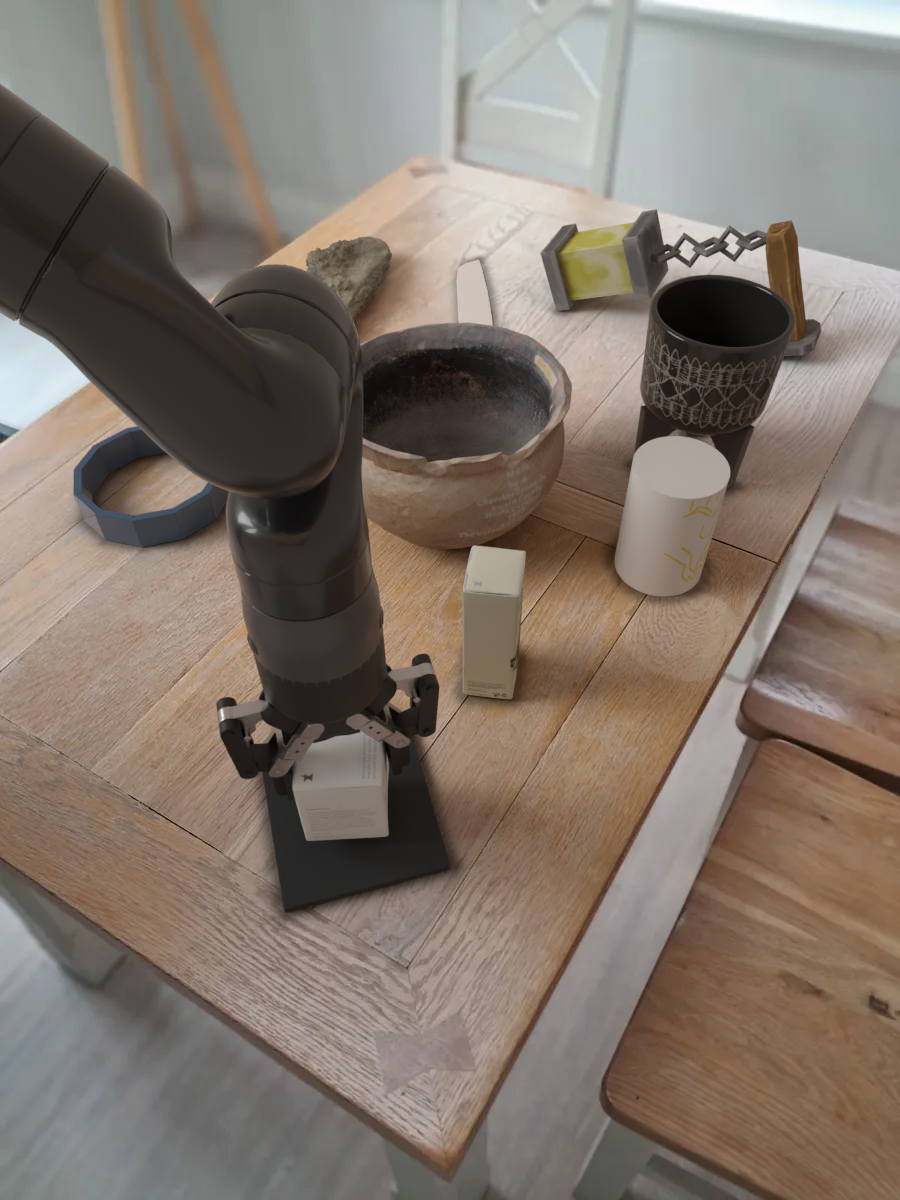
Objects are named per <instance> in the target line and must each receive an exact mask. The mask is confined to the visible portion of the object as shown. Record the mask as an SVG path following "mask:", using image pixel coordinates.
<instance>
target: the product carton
mask: <svg viewBox="0 0 900 1200" xmlns="http://www.w3.org/2000/svg"><path fill="white" fill-rule="evenodd" d="M388 775H389V762H388V757H387V753H386V745H385V741H384V740H382V741H381V742H377V741H376V740H374V739H373V738H371V737H369V736H368V735H366V734H365V733H363V732H362V731H360V733H355V734H351V735H343V736H335V737H333V738H330V739H328V740H325V741H321V742H317V743H312V744H311V746H310V747H309V749H308V750H307V752H306V753H305V755H304V756H303V758H302V759H301V761H294V768H293V785H292V789H293V793H294V797H295V801H296V804H297V808H298V812H299V816H300V819H301V823H302V826H303V830H304V834H305V837H306V840H307V841H319V840H336V839H355V838H374V837H386V836H388V835H389V830H388Z"/></svg>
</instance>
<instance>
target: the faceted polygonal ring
mask: <svg viewBox="0 0 900 1200" xmlns="http://www.w3.org/2000/svg"><path fill="white" fill-rule="evenodd" d="M165 454H167V453H166V452H165V451H164V450H162V449H161V448H160V447H159V446H158V445H157V444H156V443H155V442H154V441H153V440H152V439H151V438H150V437H148V436H147V435H146V434H145V433H144V432H143V431H142V430H141V429H140V428H139V427H138V426H137V425H136V426H131V427H127V428H124V429H122V430H120V431H118V432H117V433H114V434H112V435H111V436H109V437H108V436H107V438H105V439H103V440H101V441H99V442H96V443H95V444H93V445H92V446H91V447H90V449H88V451H87V452H86V454H85V455H84V456H83V457H82V458H81V459H80V461H79V462H78V463H77V464H76V466H75V467H74V468H73V497H74V499H75V502H76V503H77V506H78V509H79V511H80V513H81V516H82V518H83V520H84V522H85V523H86V524H88V526H90V528H92V529H93V530H94V531H95V532H96V533H97V534H98V535H100V537H101V538H103V540H105V541H108V542H113V543H119V544H124V545H129V546H134V547H139V548H145V547H150V546H151V547H152V546H156V545H161V544H165V543H171V542H177V541H182V540H184V539H186V538H188V537H189V536H191V535H193V534H194V533H196V532H197V531H199V530H201V529H203V528H204V527H205V526H207V525H209V524H210V523H212V522H214V521H216V520H217V519H218V518H219V515H220V514H221V512H222V510H223V509H224V507H226V503H227V498H228V493H229V491H227V490H224V489H222V488H219V487H217V486H215V485H213V484H211V483H209V482H206V484H205V486H204V487H203V489H202V490H201V491H200V492H198V493H196V494H195V495H193V496H190V497H189V498H187V499H186V500H184V501H182V502H181V503H179V504H177V505H175V506H174V507H171V508H166V509H160V510H156V511H155V510H154V511H149V512H145V513H138V514H129V513H124V512H119V511H113V510H108V509H103V508H100V507H99V506H98V505H97V504H96V503H95V502H94V501H93V495H94V494H95V492H96V491H97V490H98V489H99V487H100V486H101V485H102V484H103V482H104V481H105V480H106V479H107V477H108V476H109V474H111V473H113V472H115V471H116V470H118V469H120V468H122V467H124V466H126V465H127V464H129V463H131V462H133V461H135V460H137V459H140V458H146V457H152V456H158V455H165Z"/></svg>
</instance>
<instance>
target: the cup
mask: <svg viewBox="0 0 900 1200" xmlns="http://www.w3.org/2000/svg"><path fill="white" fill-rule="evenodd" d="M634 452H635V451H634ZM729 478H730V467H729V464H728V462H727V460H726V458H725V457H724V456H723V455H722V454H721V453H720V452H719V451H718V450H717V449H716V448H715V446H712V445H711V444H710V443H707V442H704V441H702V440H699V439H696V438H692V437H689V436H681V435H669V436H666V437H660V438H656V439H653V440H650V441H648V442H646V443H645V444H643V445H642V446H640V447H639V448H638V450H637V451H636V452H635V454H634V453H633V457H632V461H631V466H630V472H629V479H628V484H627V489H626V495H625V500H624V505H623V511H622V515H621V523H620V527H619V532H618V536H617V537H618V538H617V543H616V548H615V553H614V554H615V555H614V558H613V559H614V562H613V563H614V568H615V570H616V573H617V574H618V577H620V579H621V580H622V581H623V582H624V583H625V584H626V585H627V586H629V587H630V588H632V589H634V590H636V591H638V592H640V593H642V594H645V595H648V596H653V597H662V598H663V597H664V598H665V597H674V596H675V597H676V596H679V595H682V594H684V593H687V592H689V591H690V590H692V589H693V588H694V587H695V586H696V585H697V584H698V582H699V581H700V579H701V576H702V573H703V569H704V566H705V563H706V559H707V556H708V552H709V549H710V546H711V542H712V539H713V535H714V532H715V528H716V525H717V522H718V519H719V515H720V512H721V509H722V505H723V502H724V498H725V495H726V491H727V490H726V488H727V485H728V482H729Z"/></svg>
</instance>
